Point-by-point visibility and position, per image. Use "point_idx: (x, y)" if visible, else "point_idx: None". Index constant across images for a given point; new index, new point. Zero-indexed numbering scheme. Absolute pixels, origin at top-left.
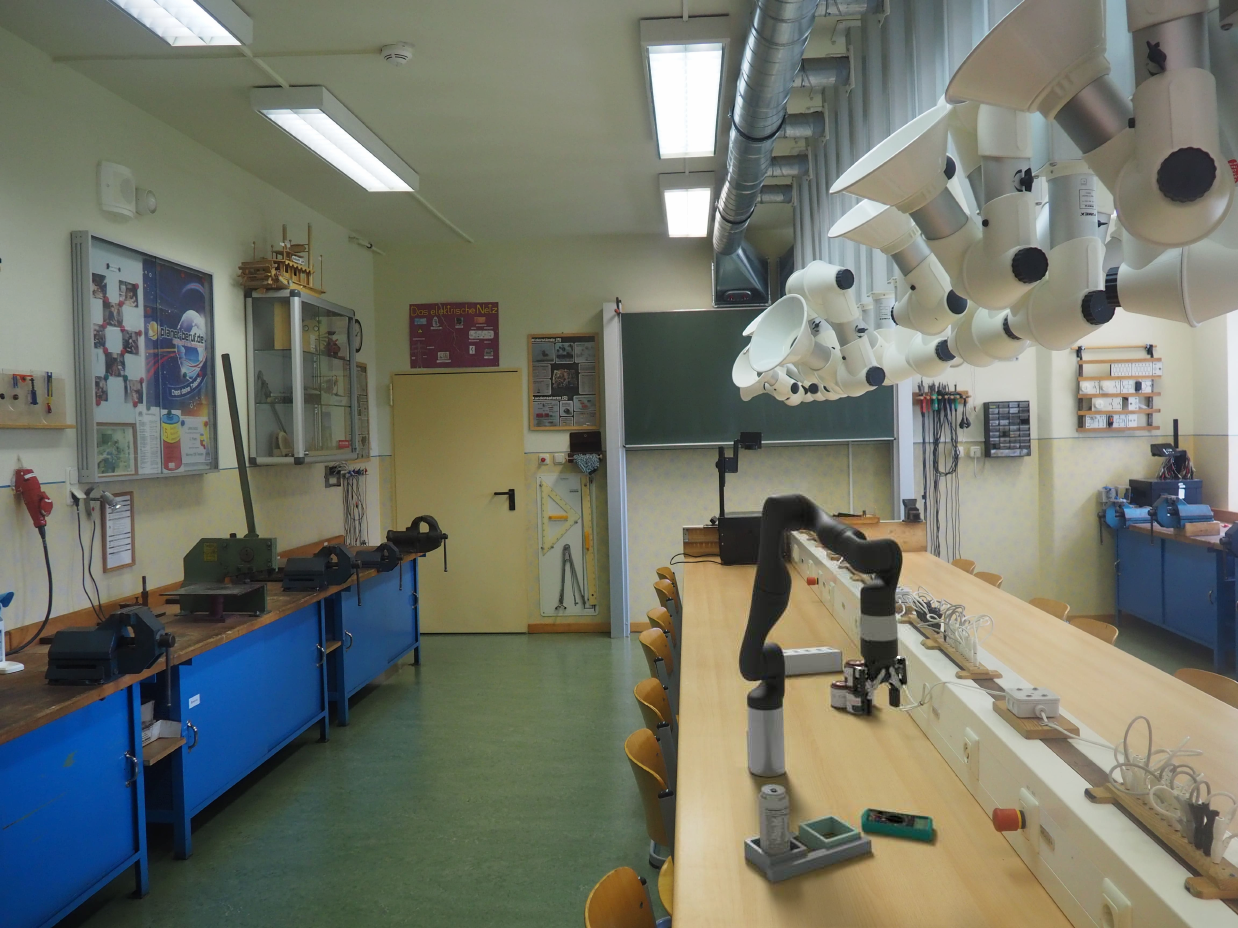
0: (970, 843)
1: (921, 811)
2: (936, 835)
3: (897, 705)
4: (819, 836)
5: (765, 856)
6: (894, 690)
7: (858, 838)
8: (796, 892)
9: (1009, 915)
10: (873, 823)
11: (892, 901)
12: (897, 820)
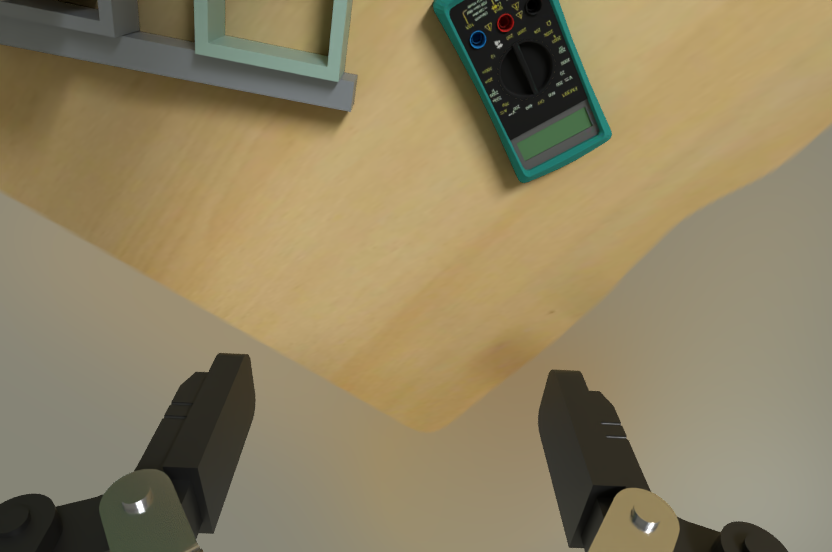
0: (574, 239)
1: (681, 50)
2: None
3: (540, 435)
4: (200, 9)
5: None
6: (576, 523)
7: (326, 80)
8: (34, 107)
9: (369, 396)
10: (452, 38)
11: (223, 264)
12: (526, 78)
